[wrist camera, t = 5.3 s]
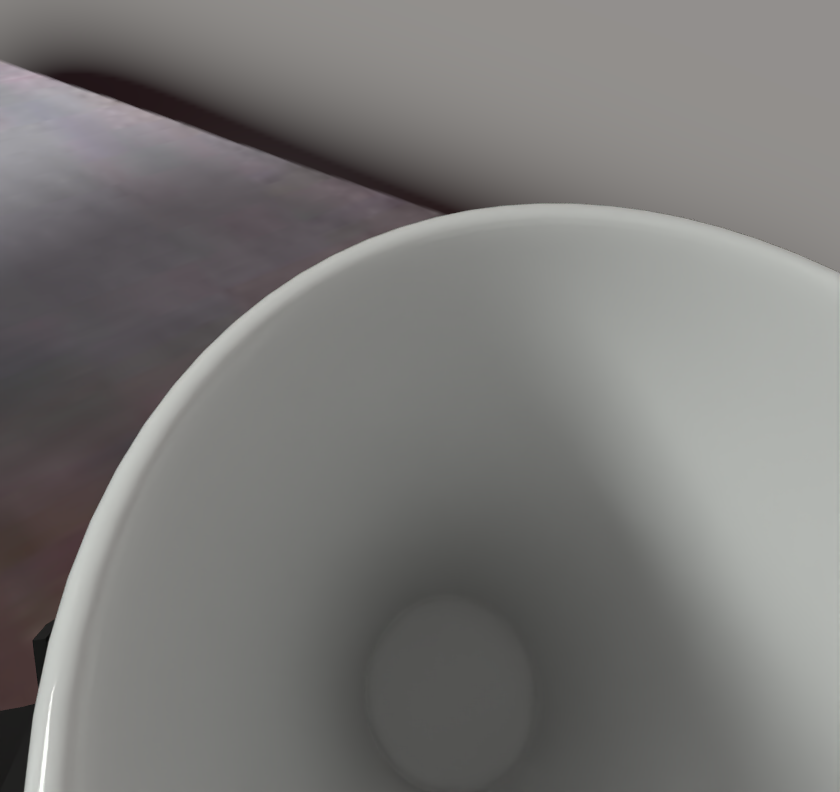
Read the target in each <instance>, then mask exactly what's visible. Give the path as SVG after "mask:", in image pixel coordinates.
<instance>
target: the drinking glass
mask: <svg viewBox="0 0 840 792" xmlns="http://www.w3.org/2000/svg"><path fill="white" fill-rule="evenodd" d="M24 792H840V273H839V272H837V271H835V270H833V269H831V268H829V267H826V266H824V265H822V264H820V263H817V262H815V261H813V260H810V259H808V258H806V257H804V256H801V255H799V254H797V253H795V252H792V251H789V250H786V249H783V248H781V247H779V246H776V245H773V244H771V243H768V242H765V241H763V240H760V239H757V238H754V237H751V236H748V235H745V234H742V233H738V232H735V231H732V230H729V229H726V228H722V227H719V226H715V225H711V224H707V223H703V222H699V221H695V220H691V219H687V218H683V217H678V216H673V215H668V214H662V213H658V212H652V211H647V210H639V209H632V208H624V207H616V206H607V205H592V204H576V203H536V204H520V205H504V206H496V207H489V208H482V209H474V210H467V211H462V212H458V213H453V214H448V215H443V216H438V217H434V218H430V219H427V220H423V221H420V222H416V223H413V224H409V225H406V226H402V227H399V228H396V229H394V230H391V231H388V232H386V233H383V234H380V235H378V236H375V237H372V238H369V239H367V240H364V241H362V242H360V243H358V244H356V245H353V246H351V247H349V248H347V249H345V250H343V251H340V252H338V253H336V254H334V255H332V256H330V257H328V258H327V259H325V260H323V261H321V262H319V263H318V264H316V265H314V266H312V267H310V268H309V269H307V270H305V271H303V272H302V273H300V274H298V275H297V276H295V277H294V278H292V279H291V280H289V281H288V282H286V283H285V284H283V285H282V286H280V287H279V288H277V289H276V290H275V291H273V292H272V293H270V294H269V295H267V296H266V297H265V298H263V299H262V300H261V301H260V302H258V303H257V304H256V305H255V306H253V307H252V308H251V309H250V310H248V311H247V312H246V313H245V314H243V315H242V316H241V317H240V318H238V319H237V320H236V321H235V322H234V323H232V324H231V325H230V326H229V327H228V328H227V329H226V330H225V331H224V332H223V333H222V334H221V335H220V336H219V337H218V338H217V339H216V340H215V341H214V342H213V343H211V344H210V345H209V346H208V347H207V348H206V349H205V350H204V351H203V352H202V353H201V354H200V356H199V357H198V358H197V359H196V360H195V361H194V362H193V363H192V365H191V366H190V367H189V368H188V369H187V370H186V371H185V372H184V374H183V375H182V376H181V377H180V378H179V379H178V380H177V382H176V383H175V384H174V385H173V386H172V387H171V389H170V390H169V391H168V393H167V394H166V396H165V397H164V398H163V400H162V401H161V402H160V404H159V405H158V406H157V408H156V409H155V410H154V412H153V413H152V414H151V416H150V417H149V418H148V420H147V421H146V423H145V424H144V425H143V427H142V428H141V430H140V432H139V433H138V435H137V437H136V438H135V440H134V441H133V443H132V445H131V446H130V448H129V450H128V451H127V453H126V454H125V456H124V458H123V459H122V461H121V463H120V464H119V466H118V467H117V469H116V471H115V473H114V475H113V477H112V479H111V481H110V483H109V485H108V487H107V489H106V491H105V493H104V495H103V497H102V499H101V501H100V503H99V505H98V507H97V509H96V511H95V513H94V515H93V517H92V519H91V521H90V523H89V526H88V528H87V531H86V533H85V536H84V538H83V541H82V543H81V546H80V548H79V551H78V553H77V556H76V558H75V561H74V563H73V566H72V568H71V571H70V574H69V576H68V579H67V582H66V585H65V589H64V592H63V595H62V598H61V602H60V605H59V608H58V612H57V615H56V618H55V622H54V625H53V628H52V632H51V635H50V638H49V642H48V646H47V651H46V655H45V660H44V665H43V670H42V675H41V679H40V684H39V689H38V694H37V699H36V703H35V708H34V713H33V719H32V727H31V736H30V744H29V752H28V761H27V769H26V778H25V786H24Z"/></svg>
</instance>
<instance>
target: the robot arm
mask: <svg viewBox="0 0 840 792" xmlns="http://www.w3.org/2000/svg"><path fill="white" fill-rule="evenodd" d="M54 622H55V619H54V620H53V621H51V622H50V623H48V624H47V625H45V627H44V628H43V629H42V630H41V631H40V632H39V634H38V635H37V636H36V637H35V638H34V639H33V648H34V656H35V664H36V673H37V681H38V689H39V684H40V679H41V675H42V670H43V665H44V660H45V655H46V651H47V646H48V642H49V638H50V635H51V632H52V628H53V625H54ZM34 708H35V704H32V705H28V706H25V707H20V708H14V709H9V710H3V711H0V792H24V786H25V778H26V769H27V761H28V752H29V744H30V736H31V727H32V719H33V713H34Z"/></svg>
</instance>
